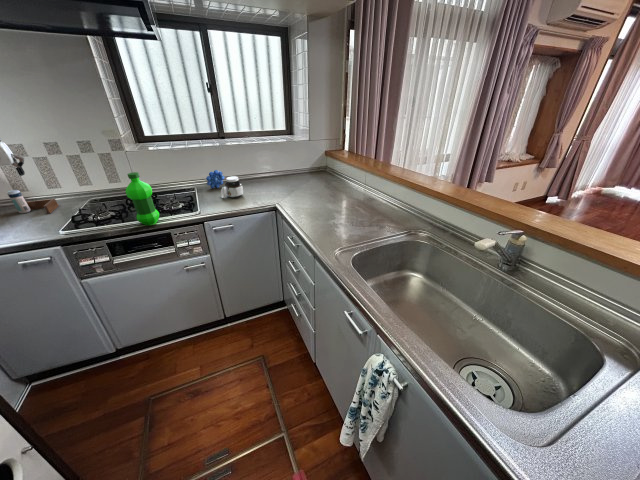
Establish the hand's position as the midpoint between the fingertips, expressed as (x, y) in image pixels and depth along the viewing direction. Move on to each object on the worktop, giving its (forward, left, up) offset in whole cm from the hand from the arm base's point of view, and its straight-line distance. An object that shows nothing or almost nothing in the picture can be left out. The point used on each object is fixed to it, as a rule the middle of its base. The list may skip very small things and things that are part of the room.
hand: (10, 176), depth 133 cm
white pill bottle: (-4, +3, -20) cm, 21 cm away
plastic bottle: (+60, -39, -20) cm, 75 cm away
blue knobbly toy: (+95, +4, -20) cm, 97 cm away
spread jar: (+102, -18, -20) cm, 106 cm away
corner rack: (+2, +1, -20) cm, 20 cm away
